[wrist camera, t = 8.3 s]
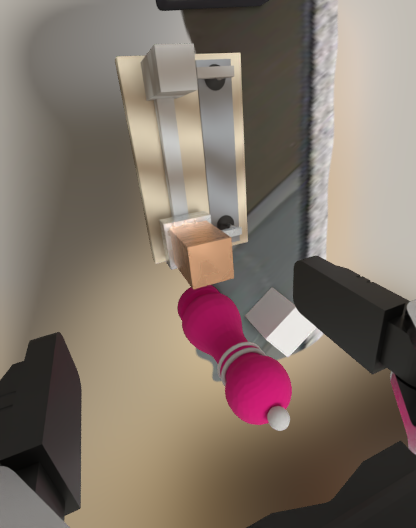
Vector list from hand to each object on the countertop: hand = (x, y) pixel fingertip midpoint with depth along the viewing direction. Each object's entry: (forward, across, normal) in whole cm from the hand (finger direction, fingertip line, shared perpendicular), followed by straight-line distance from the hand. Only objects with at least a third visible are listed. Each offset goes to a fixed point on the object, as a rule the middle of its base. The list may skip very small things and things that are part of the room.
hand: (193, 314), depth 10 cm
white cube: (+25, -18, +22) cm, 38 cm away
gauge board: (+25, -8, -1) cm, 26 cm away
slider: (+22, -7, +6) cm, 24 cm away
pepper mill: (+25, -7, +17) cm, 31 cm away
